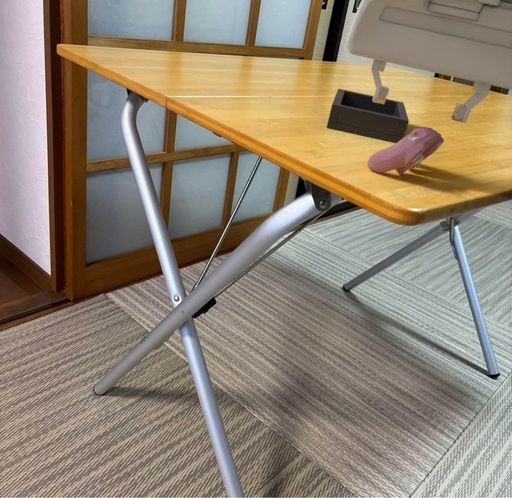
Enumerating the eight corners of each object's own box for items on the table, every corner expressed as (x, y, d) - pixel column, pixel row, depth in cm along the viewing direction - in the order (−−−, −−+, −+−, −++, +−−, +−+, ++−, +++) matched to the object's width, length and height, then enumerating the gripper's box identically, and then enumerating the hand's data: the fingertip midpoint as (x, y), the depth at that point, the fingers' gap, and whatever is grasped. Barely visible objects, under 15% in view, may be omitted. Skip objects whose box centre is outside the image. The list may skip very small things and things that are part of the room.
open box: (397, 122, 90) (403, 102, 88) (401, 144, 76) (409, 120, 75) (333, 108, 91) (338, 88, 89) (326, 127, 77) (332, 104, 76)
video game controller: (387, 191, 60) (430, 149, 56) (361, 164, 61) (401, 120, 57) (417, 177, 68) (457, 138, 64) (393, 152, 69) (431, 112, 65)
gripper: (552, 1, 56) (501, 126, 62) (367, -37, 58) (335, 88, 64) (572, 1, 50) (514, 138, 56) (366, -41, 52) (332, 96, 58)
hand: (417, 111), depth 60 cm, fingers open, 8 cm apart
